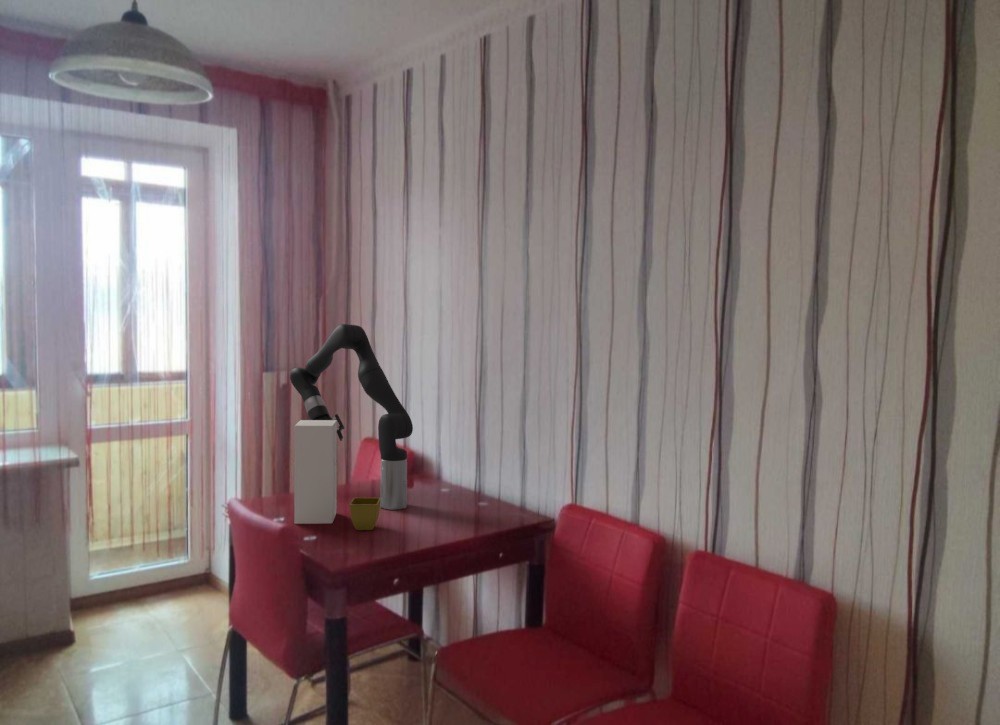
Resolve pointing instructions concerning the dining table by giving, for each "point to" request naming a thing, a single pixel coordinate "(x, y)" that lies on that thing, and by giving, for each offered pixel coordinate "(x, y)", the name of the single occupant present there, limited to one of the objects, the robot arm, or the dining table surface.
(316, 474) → the off-white column
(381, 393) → the robot arm
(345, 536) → the dining table surface
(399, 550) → the dining table surface
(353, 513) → the flower pot
